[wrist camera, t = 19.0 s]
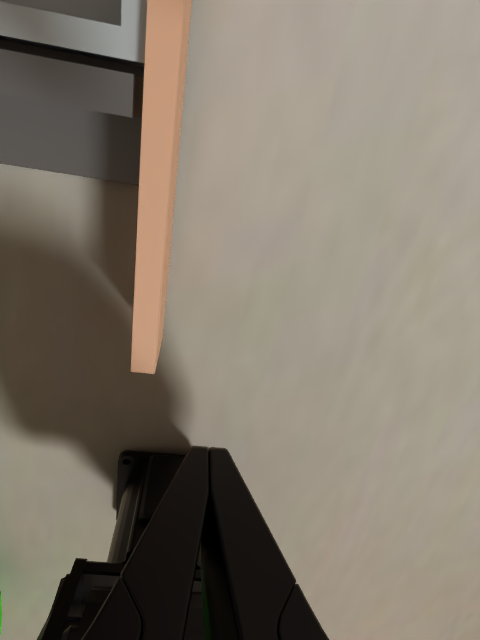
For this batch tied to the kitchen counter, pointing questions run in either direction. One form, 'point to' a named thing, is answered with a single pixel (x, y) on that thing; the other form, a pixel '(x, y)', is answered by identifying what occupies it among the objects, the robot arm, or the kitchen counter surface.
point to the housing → (70, 113)
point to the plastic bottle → (0, 612)
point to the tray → (157, 119)
